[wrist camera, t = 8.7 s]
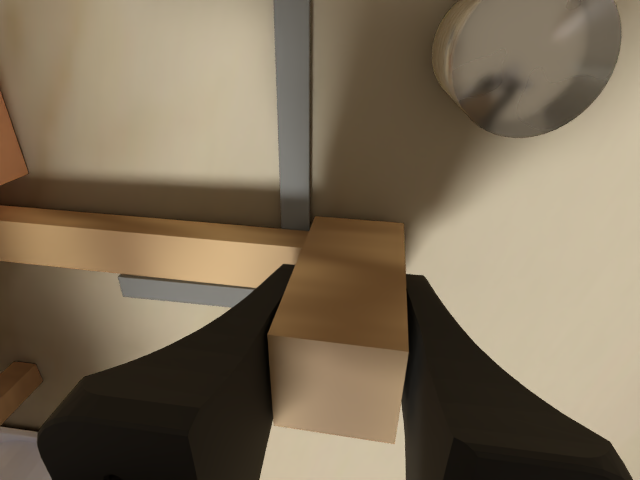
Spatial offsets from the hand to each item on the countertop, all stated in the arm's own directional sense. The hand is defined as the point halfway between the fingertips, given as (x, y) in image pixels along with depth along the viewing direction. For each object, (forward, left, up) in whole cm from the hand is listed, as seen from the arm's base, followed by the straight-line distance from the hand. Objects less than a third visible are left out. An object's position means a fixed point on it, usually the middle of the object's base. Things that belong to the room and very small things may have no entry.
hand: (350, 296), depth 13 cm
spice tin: (+7, -3, -3) cm, 8 cm away
